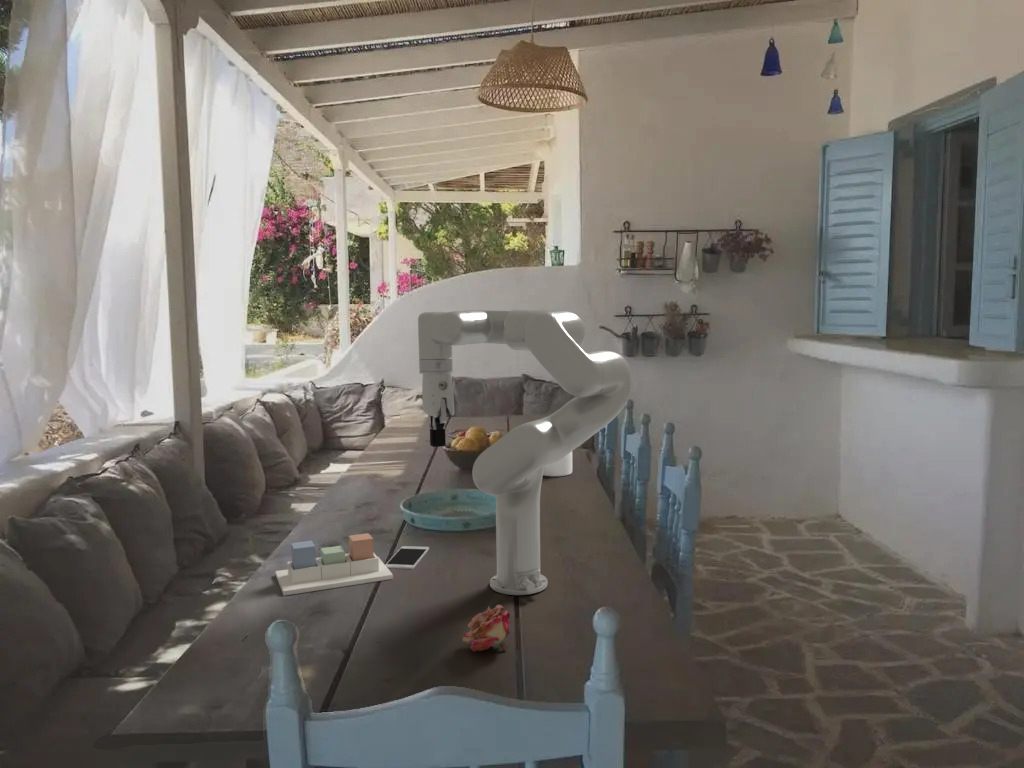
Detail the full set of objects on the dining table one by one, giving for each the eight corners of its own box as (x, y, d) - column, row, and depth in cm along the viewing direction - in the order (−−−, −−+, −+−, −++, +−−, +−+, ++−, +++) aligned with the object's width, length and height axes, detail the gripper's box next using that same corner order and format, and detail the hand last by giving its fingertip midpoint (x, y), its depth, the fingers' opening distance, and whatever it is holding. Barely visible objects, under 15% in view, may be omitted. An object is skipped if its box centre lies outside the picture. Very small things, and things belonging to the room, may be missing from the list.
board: (393, 578, 183) (392, 561, 183) (283, 595, 174) (282, 577, 174) (378, 560, 196) (377, 544, 196) (275, 575, 187) (274, 558, 186)
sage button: (345, 572, 184) (344, 551, 183) (325, 575, 182) (324, 554, 181) (341, 566, 188) (340, 545, 187) (321, 569, 186) (320, 548, 186)
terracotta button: (373, 559, 186) (372, 538, 185) (353, 562, 184) (352, 541, 184) (369, 553, 190) (368, 533, 190) (349, 556, 188) (348, 535, 188)
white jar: (531, 471, 291) (530, 416, 289) (562, 468, 297) (561, 413, 294) (547, 478, 280) (546, 421, 278) (578, 474, 285) (578, 418, 283)
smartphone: (429, 550, 205) (429, 546, 205) (413, 570, 190) (413, 566, 190) (402, 549, 206) (402, 545, 206) (383, 569, 191) (383, 565, 191)
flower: (523, 629, 150) (498, 594, 151) (526, 640, 141) (499, 603, 142) (481, 661, 150) (456, 626, 150) (481, 674, 140) (454, 636, 141)
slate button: (316, 567, 181) (315, 546, 180) (295, 570, 179) (293, 548, 179) (312, 561, 185) (311, 540, 185) (292, 564, 183) (291, 543, 183)
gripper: (462, 368, 179) (464, 450, 181) (441, 363, 193) (443, 439, 195) (429, 369, 176) (432, 453, 178) (410, 364, 190) (413, 442, 192)
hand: (437, 445), depth 186 cm, fingers closed
